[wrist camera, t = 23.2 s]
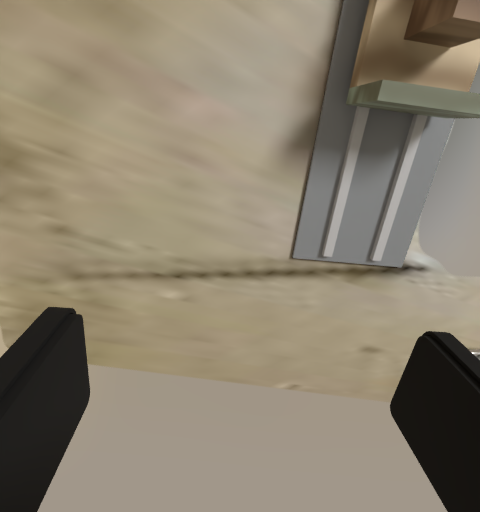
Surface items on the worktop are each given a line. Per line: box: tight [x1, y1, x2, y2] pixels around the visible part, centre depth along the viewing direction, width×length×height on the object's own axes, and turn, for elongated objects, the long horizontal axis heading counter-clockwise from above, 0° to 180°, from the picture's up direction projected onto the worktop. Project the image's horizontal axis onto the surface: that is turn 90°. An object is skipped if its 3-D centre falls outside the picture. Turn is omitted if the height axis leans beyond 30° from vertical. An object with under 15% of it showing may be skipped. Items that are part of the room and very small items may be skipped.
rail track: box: [292, 0, 455, 267], centre depth 35 cm, size 42×16×1 cm, turn 173°
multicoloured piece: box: [346, 0, 480, 118], centre depth 28 cm, size 18×12×9 cm
